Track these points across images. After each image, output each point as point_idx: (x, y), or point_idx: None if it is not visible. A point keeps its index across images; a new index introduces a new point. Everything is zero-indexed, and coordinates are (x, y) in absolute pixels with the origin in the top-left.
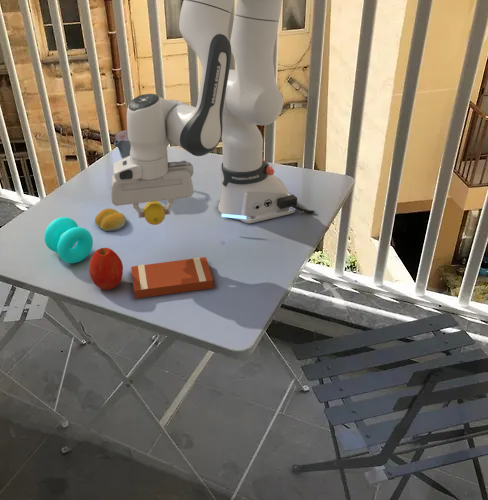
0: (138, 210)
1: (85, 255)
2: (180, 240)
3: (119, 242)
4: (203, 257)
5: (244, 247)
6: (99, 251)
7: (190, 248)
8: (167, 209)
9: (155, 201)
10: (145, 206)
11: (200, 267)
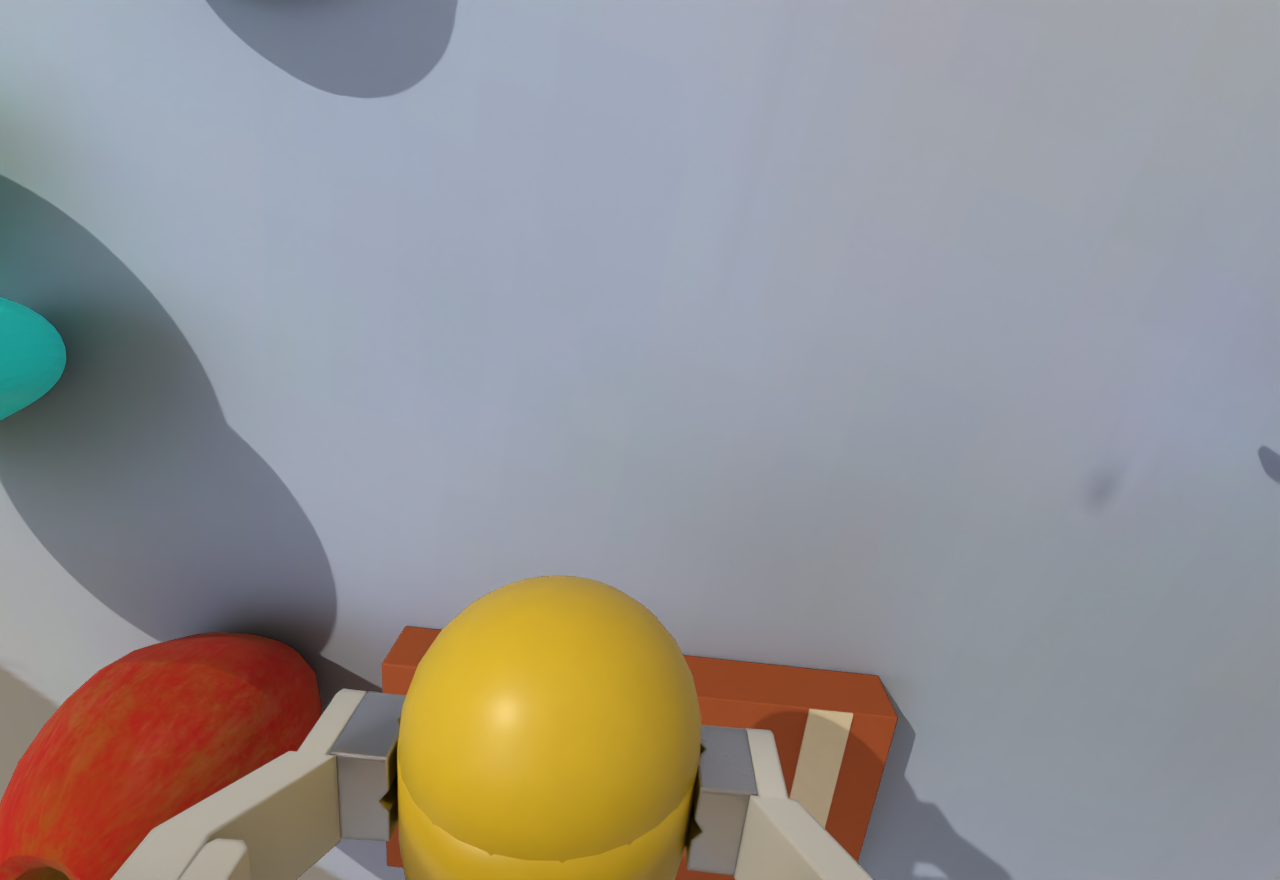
0: (290, 868)
1: (36, 398)
2: (816, 348)
3: (324, 205)
4: (880, 719)
5: (1205, 584)
6: (23, 877)
7: (850, 476)
8: (732, 865)
9: (574, 843)
10: (407, 800)
11: (818, 806)
